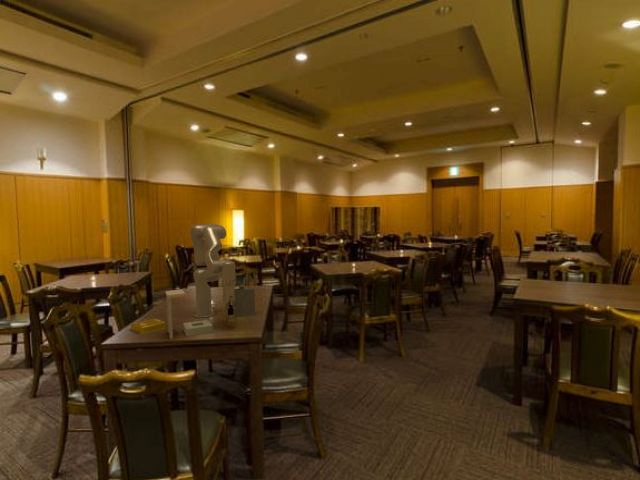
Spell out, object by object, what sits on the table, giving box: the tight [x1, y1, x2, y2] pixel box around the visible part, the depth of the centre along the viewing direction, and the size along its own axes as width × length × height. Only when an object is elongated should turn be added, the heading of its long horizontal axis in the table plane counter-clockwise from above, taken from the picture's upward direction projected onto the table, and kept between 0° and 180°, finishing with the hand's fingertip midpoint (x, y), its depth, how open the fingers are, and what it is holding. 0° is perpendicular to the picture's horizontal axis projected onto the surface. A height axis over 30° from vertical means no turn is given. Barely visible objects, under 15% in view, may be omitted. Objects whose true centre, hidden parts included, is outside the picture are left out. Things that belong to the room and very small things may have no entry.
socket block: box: [165, 289, 213, 340], centre depth 214 cm, size 14×22×24 cm, turn 115°
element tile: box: [130, 317, 166, 335], centre depth 224 cm, size 15×15×5 cm
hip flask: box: [233, 284, 256, 318], centre depth 248 cm, size 16×4×20 cm, turn 103°
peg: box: [225, 302, 234, 322], centre depth 222 cm, size 4×4×12 cm
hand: (229, 313), depth 222 cm, fingers closed on peg, 4 cm apart
